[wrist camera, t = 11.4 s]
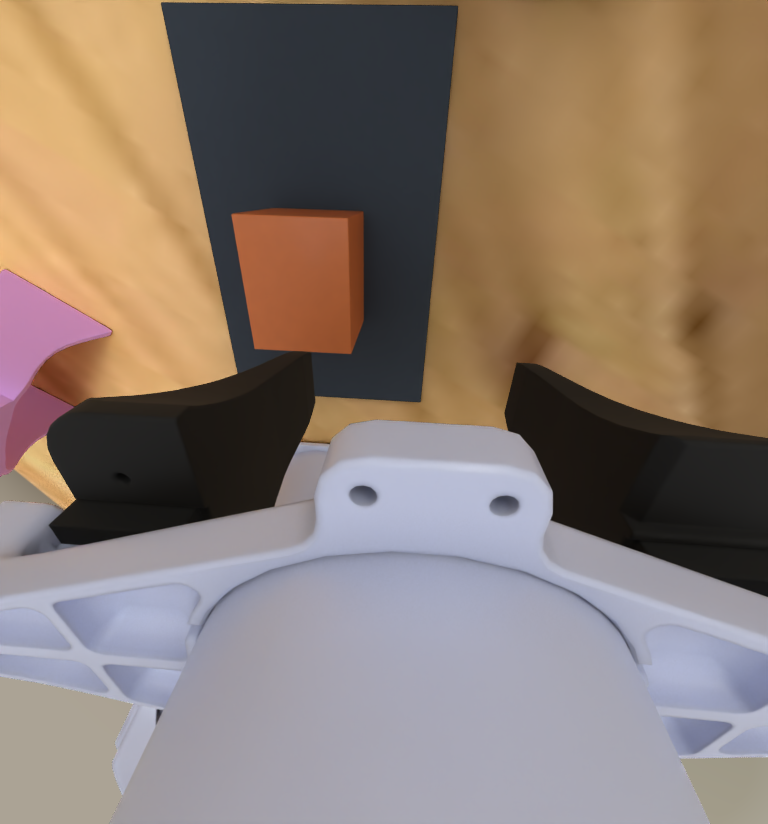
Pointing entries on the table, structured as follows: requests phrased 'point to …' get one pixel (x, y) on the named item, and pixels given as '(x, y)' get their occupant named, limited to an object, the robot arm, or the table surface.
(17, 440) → the toy chair
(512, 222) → the table surface
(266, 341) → the orange box
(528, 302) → the table surface
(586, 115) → the table surface
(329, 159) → the back mat
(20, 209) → the table surface
